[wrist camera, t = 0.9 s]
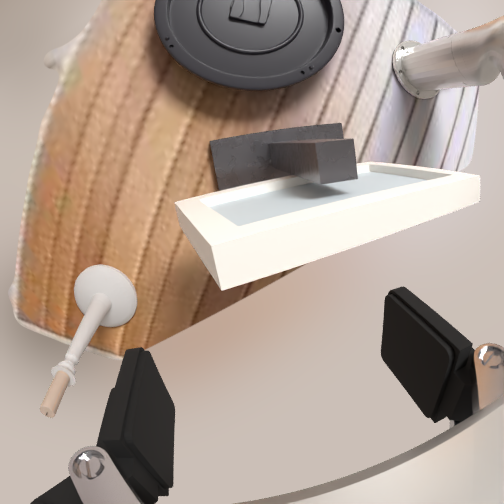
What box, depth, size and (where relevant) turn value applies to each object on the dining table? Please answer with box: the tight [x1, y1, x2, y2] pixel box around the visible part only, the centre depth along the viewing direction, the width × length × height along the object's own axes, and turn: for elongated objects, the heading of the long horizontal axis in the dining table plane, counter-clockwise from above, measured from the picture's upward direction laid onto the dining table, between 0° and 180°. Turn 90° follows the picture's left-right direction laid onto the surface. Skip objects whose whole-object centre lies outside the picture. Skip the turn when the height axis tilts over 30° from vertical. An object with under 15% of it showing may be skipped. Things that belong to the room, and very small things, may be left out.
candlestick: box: [40, 265, 137, 418], centre depth 39 cm, size 13×13×30 cm
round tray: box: [154, 0, 344, 91], centre depth 37 cm, size 30×6×30 cm
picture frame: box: [174, 162, 480, 291], centre depth 32 cm, size 30×3×20 cm, turn 100°
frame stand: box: [210, 123, 358, 191], centre depth 38 cm, size 22×9×23 cm, turn 100°
